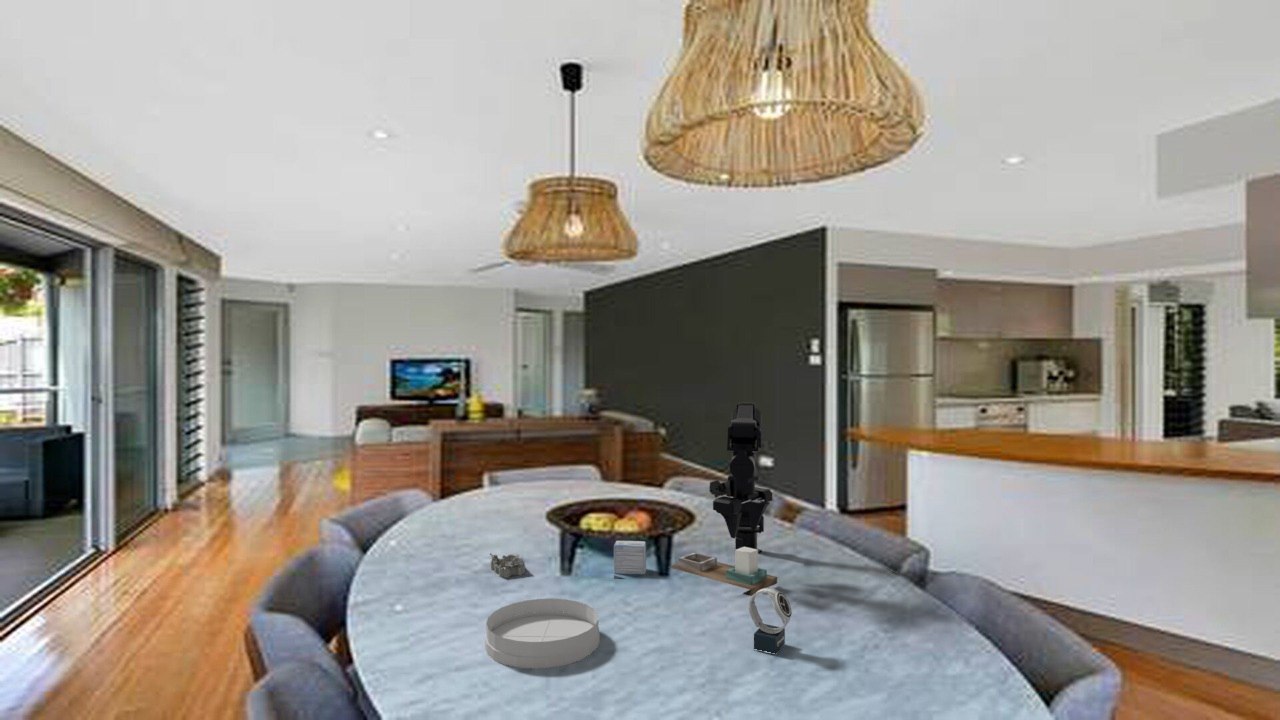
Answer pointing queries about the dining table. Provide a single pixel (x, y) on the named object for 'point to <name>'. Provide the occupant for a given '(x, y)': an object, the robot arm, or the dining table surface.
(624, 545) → the medicine box
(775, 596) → the watch
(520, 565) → the toy castle
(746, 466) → the robot arm
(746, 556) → the plug
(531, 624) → the dish
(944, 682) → the dining table surface
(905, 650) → the dining table surface
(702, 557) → the socket board
